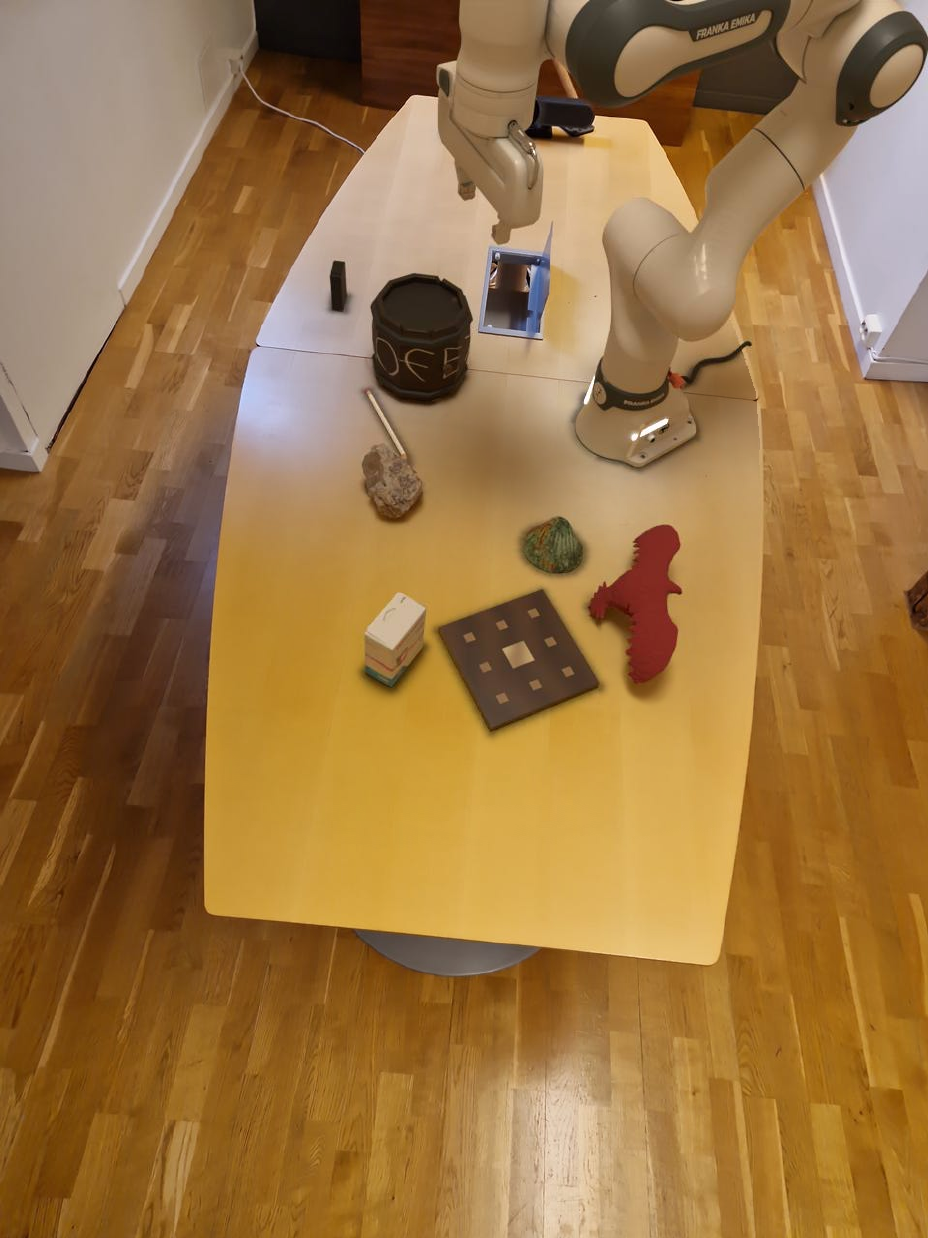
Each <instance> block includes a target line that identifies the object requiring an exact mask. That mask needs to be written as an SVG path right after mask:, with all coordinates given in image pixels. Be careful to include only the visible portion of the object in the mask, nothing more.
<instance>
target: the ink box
mask: <svg viewBox="0 0 928 1238" xmlns="http://www.w3.org/2000/svg"><path fill="white" fill-rule="evenodd" d="M426 616H427V606H425V605H423V604H421V603H420V602H418V601H416V600H414V599H412V598H411V597H410V596H408V595H406V594H405V593H403V592H400V591H398V592H397V593H395V594H394V596H393V597H392V598H391V599H390V600H389V602H388V603H387V604H386V605H385V606H384V607H383V609H382V610H381V611H380V612H379V614H378V615H377V616H376V617H375V618H374V620H373V621H372V622H371V623H370V624H369V625H368V626H367V627H366V631H365V632H364V667H365V668H364V672H365V673H366V674H367V675H368V676H370V677H372V678H374V679H375V680H377V681H379V682H381V683H382V684H384V685H385V686H388V687H390V688H392V687H393V686H394V685H395V684H396V682H397V681H398V680H399V678H400V677H401V676H402V675H403V673H404V672H405V670H406V669H407V668H408V667H409V665H410V664H411V663H412V661H414V659H415V658H416V657H417V655H418V654H419V652H421V650H422V649H423V647H424V646H423V644H424V635H425V624H426V618H427V617H426Z"/></svg>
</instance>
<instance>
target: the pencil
mask: <svg viewBox="0 0 928 1238" xmlns="http://www.w3.org/2000/svg"><path fill="white" fill-rule="evenodd" d="M365 393H366V394H367V397H368V398H369V401H370V402H371V404H372V405H373V408H374V409H375V411H376V413H377V414H378V416H379V418H380V419H381V422H382V423H383V425H384V427H385V428H386V431H387V432H388V434H389V436H390V437H391V439H392V441H393V443H394V444H395V446H396V448H397V450H398V452H399V453H400V456H404V457H406V458H407V459H408V457H407V453H406V452H405V450H404V448H403V446H402V444H401V443H400V441H399V440H398V437H397V435H396V434H395V432H394V430H393V429H392V427H391V425H390V424H389V422H388V420H387V418H386V416H385V415H384V413H383V411H382V409H381V408H380V406H379V404H378V402H377V401H376V399H375V396H374V395H373V394H372V392H371V390H370V388H365Z"/></svg>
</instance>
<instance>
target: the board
mask: <svg viewBox="0 0 928 1238" xmlns="http://www.w3.org/2000/svg"><path fill="white" fill-rule="evenodd" d="M437 631H438V633H439V635H440V637H441V639H442V642H443V643H444V645H445V647H446V649H447V651H448V653H449V654H450V656H451V658H452V660H453V663H454V665H455V667H456V668H457V670H458V672H459V673H460V675H461V678H462V680H463V682H464V684H465V685H466V687H467V690H468V691H469V693H470V695H471V697H472V699H473V700H474V703H475V705H476V706H477V709H478V711H479V713H480V714H481V716H482V718H483V720H484V722H485V724H486V726H487V727H488V730H489V732H492V731H494V730H497V729H499V728H503V727H504V726H508V724H511V723H513V722H516V721H519V720H521V719H524V718H526V717H528V716H531V715H534V714H535V713H538V712H540V711H543V710H545V709H547V708H550V707H552V706H555V705H557V704H560V703H562V702H565V701H568V700H569V699H571V698H574V697H576V696H579V695H582V694H584V693H586V692H588V691H591V690H594V689H596V688H598V687H599V686H600V681H599V679H598V678H597V676H596V675H595V673H594V671H593V670H592V667H591V666H590V664H589V663H588V661H587V660H586V658H585V656H584V655H583V652H581V650H580V648H579V647H578V645H577V643H576V642H575V640H574V638H573V636H572V635H571V633H570V632H569V629H568V628H567V627H566V625H565V623H564V622H563V620H562V618H561V617H560V616H559V613H558V612H557V610H556V608H555V607H554V605H553V604H552V602H551V600H550V599H549V597H548V595H547V594H546V592H545V591H544V589H543V588H542V589H538V590H536V591H533V592H530V593H528V594H525V595H523V596H520V597H519V596H518V597H517V598H514V599H511V600H509V601H507V602H504V603H501V604H498V605H495V606H492V607H490V608H487V609H483V610H482V611H478V612H477V613H474V614H471V615H468V616H466V617H462V618H460V619H456V620H453V621H452V622H449V623H446V624H443V625H440V626H439V627H438V630H437Z"/></svg>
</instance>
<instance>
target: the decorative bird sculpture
mask: <svg viewBox="0 0 928 1238" xmlns="http://www.w3.org/2000/svg"><path fill="white" fill-rule="evenodd" d="M680 540H681V539H680V536H679V533H678V530H676V528H675V527H673V525H670V524H660V525H655V526H652V527H651V528H648V529H647V530H645V531H643V532H642V533H640V534H639V535H638V536H637V537H635V539H634V540H633V541H632V543H633V545H632V548H636V550H634V551H633V552H632V554H633V555H637V556H635V557H634V558H633V559H632V561H633V562H634V564H632V565H631V569H627V570H626V571H625V572H623V573H622V574H620V575H619V576H618V578H617V579H616V580H615V581H614V582H612V583H611V584H610V585H609V586H607V581H603V583H602V585H600V584H599V585H598V587H597V591H594V592H593V597H591V599H590V603H589V605H588V607H587V608H588V609H589V615H590V616H592V617H595V618H596V619H598V618H599V617H600V620H603V619H604V616H605V613H606V612H607V611H608V610H609V609H611V608H614V609H616V610H617V611H618V612H620V613H621V614H623V615H624V616H626V617H628V618H630V619H629V620H628V621H629V622H630V623H632V624H634V625H632V626H629V627H628V628H627V629H628V631H629V632H631V633H633V635H632V636H631V637H628V638H627V639H626V642H628V644H630V647H628V648H627V649H625V655H626V656H630V659H629V660H628V662H627V665H628V666H629V667H630V668H631V669H632V670H630V671H628V672H627V675H628V676H629V677H630V679H631V680H632V682H633V684H634V685H642V684H645V683H647V682H649V681H652V680H653V679H654V678H655V677H656V676H658V675H660V674H661V673H663V672H664V671H665V670H666V668H667V667H668V666H669V663H670V662H671V659H672V657H673V654H674V652H675V651H676V648H677V645H678V644H677V642H678V635H679V629H678V626H677V624H675V623H674V622H673V620H672V618H671V616H670V614H669V610H668V597H669V595H670V594H671V595H672V594H676V595H679V596H681V595H682V594H683V589H682V587H681V586H679V584H677V583H675V582H674V581H672V580H671V579H670V577H669V568H670V564H671V562H672V561H673V558H674V557H675V556H676V555H677V553H678V552H679V550H680V549H681V545H682V544H681V541H680Z"/></svg>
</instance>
